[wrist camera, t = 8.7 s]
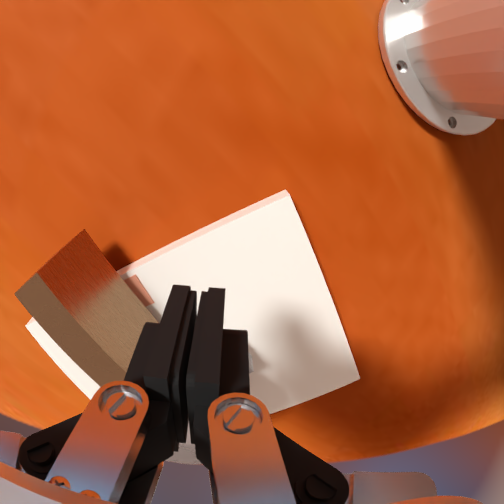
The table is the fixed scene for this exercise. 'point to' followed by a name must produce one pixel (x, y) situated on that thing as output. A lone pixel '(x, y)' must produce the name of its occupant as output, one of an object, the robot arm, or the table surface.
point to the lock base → (249, 301)
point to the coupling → (92, 315)
